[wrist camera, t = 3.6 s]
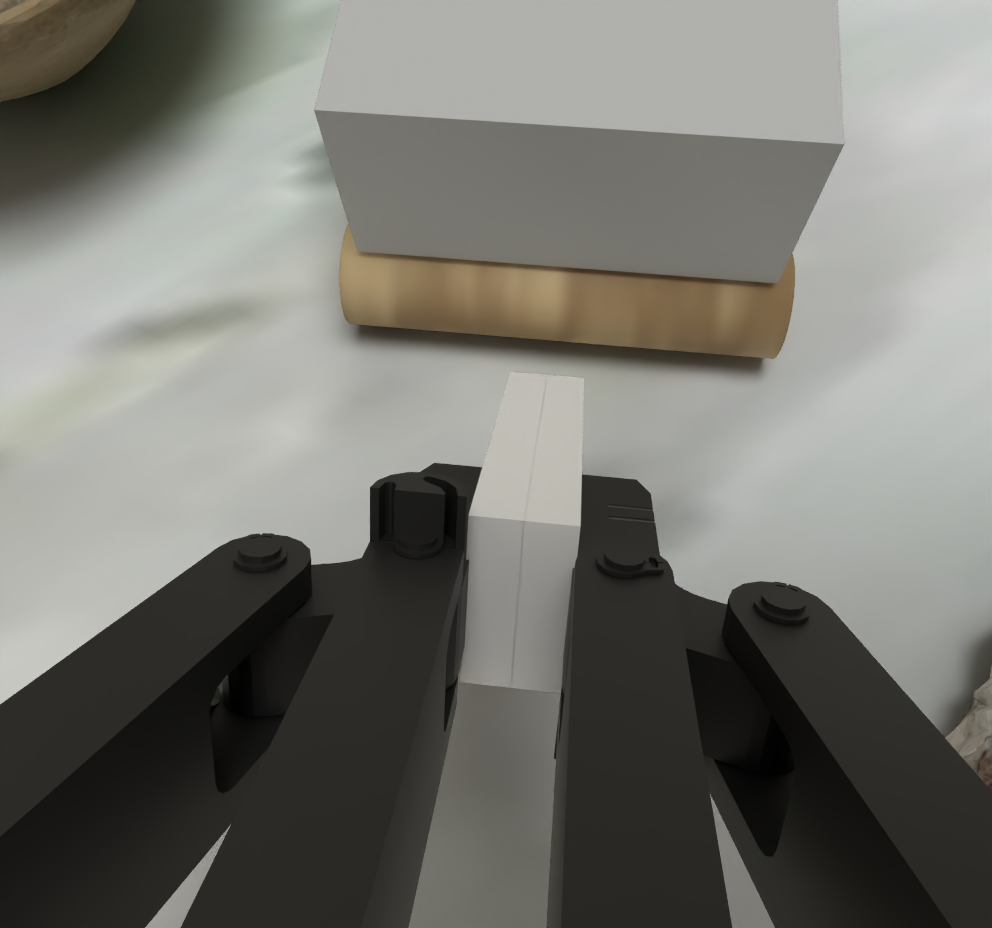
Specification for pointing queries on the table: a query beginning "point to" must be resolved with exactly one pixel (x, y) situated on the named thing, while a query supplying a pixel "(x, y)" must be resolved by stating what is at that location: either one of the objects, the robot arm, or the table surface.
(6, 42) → the bowl
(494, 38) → the slab
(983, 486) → the table surface
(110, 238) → the table surface
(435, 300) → the roller bed
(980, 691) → the mineral rock
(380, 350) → the table surface
